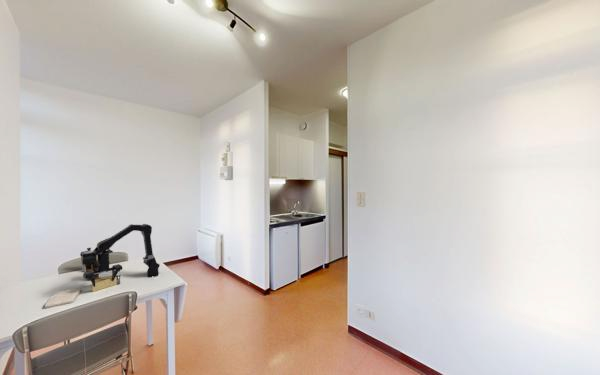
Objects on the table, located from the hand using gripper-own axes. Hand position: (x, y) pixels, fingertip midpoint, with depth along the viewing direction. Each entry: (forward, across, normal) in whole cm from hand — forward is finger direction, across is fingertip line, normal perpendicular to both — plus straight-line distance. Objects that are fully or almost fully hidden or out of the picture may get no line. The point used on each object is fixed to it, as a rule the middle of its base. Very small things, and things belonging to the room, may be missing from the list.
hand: (103, 283), depth 145 cm
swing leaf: (+3, -2, -2) cm, 4 cm away
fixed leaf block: (+4, -3, -8) cm, 9 cm away
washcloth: (+4, +17, -4) cm, 18 cm away
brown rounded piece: (+4, -1, -26) cm, 26 cm away
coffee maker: (+4, -4, -51) cm, 51 cm away
